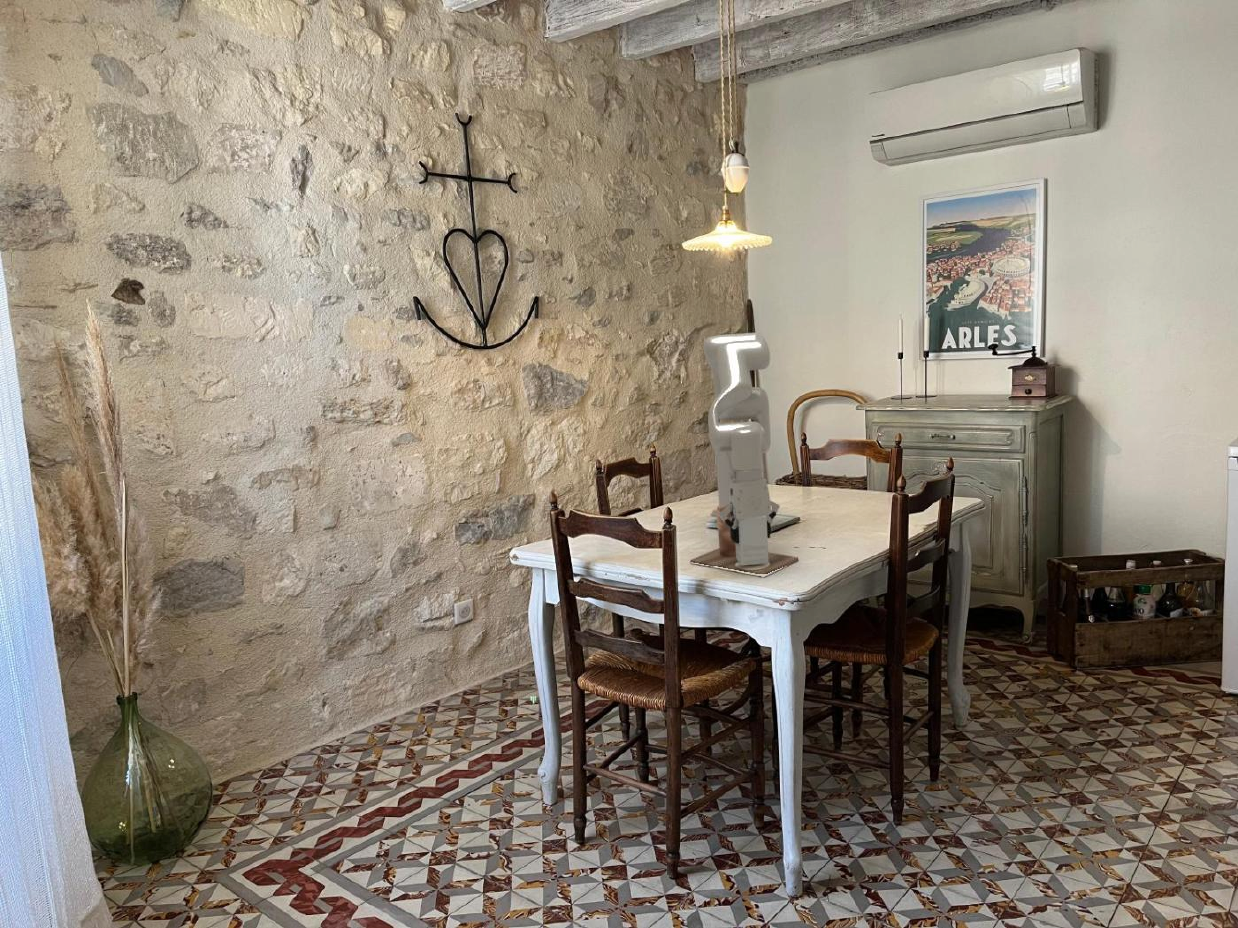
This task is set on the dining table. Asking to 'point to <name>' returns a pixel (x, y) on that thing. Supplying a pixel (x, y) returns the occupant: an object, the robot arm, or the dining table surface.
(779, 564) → the board
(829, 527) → the dining table surface
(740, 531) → the supplement box
